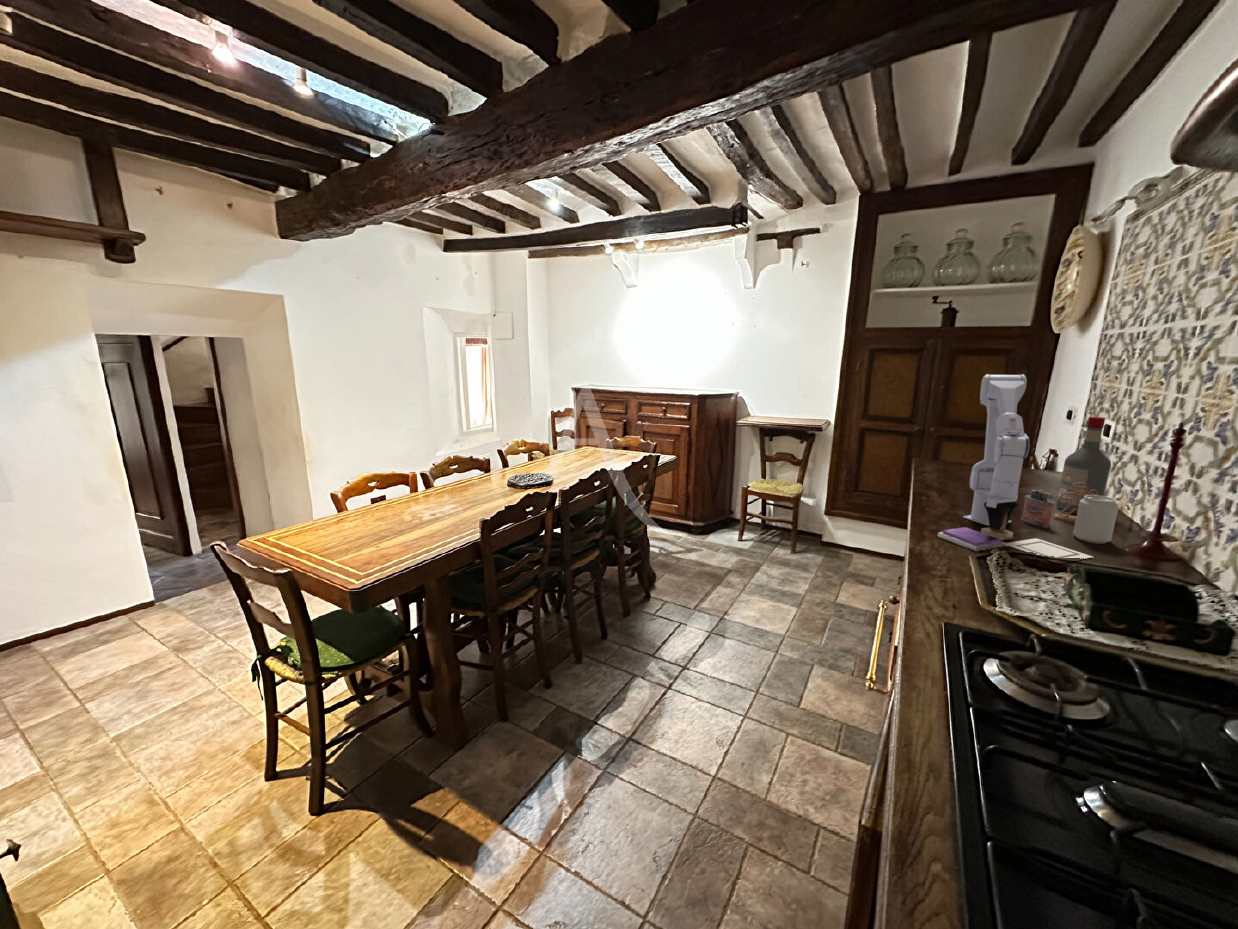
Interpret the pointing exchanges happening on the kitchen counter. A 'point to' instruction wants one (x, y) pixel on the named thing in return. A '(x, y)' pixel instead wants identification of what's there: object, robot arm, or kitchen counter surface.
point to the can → (1096, 519)
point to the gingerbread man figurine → (1068, 516)
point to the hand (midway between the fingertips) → (997, 527)
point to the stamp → (999, 532)
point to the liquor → (1085, 467)
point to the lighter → (1038, 508)
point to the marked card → (1046, 549)
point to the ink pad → (970, 539)
